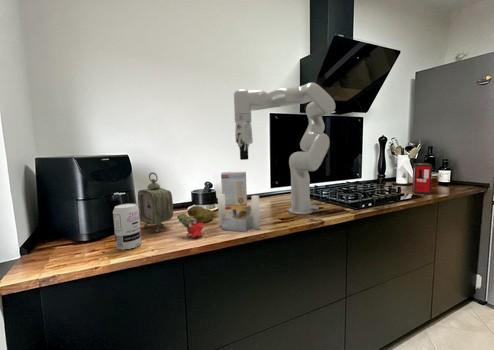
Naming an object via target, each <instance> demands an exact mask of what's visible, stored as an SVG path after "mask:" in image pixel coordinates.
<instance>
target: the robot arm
mask: <svg viewBox="0 0 494 350" xmlns="http://www.w3.org/2000/svg"><path fill="white" fill-rule="evenodd" d="M233 102H234V103H233V105H234V107H233V109H234V111H233V112H234V123H235V134H234V135H235V137H234V138H235V143H236V144H237V146H238V148H239V159H240V161H241V160H242V161H243V160H249V147H250V145H252V144H253V141H254V140H253V129H252V111H260V110H267V109H268V110H269V109H273V108H280V107H281V108H282V107H288V106H295V105H296V106H297V105H301V104H302V105H303V104H307V103H308V104H307V105H306V107H305V114H306V116H307V119H308V125H307V128H306V130H305V132H304V134H303V136H302V138H301V140H300V142H299V146H300V149H301V151H296V152H293V153H292V154H290V156H289V159H288V165H289V169H290V195H291V196H290V200H291V202H290V203H291V206H290V207H289V208H288V210H287V211H288V213H290V214H294V215H310V214H312V213H313V212H314V210H316V211H317V210H318V211H319V205H316V204H312V202H311V201H310V200H311V197H310V195H311V193H310V192H311V188H310V183H311V182H310V181H311V179H310V174H309V172H315V171H317V170H318V169H319V167H320V166H321V165H322V163H323V161H324V158H325V157H326V154H327V152H328V150H329V148H330V137H329V136H328V135H327V134H326V133H324V131H325V127H326V126H325V123H324V120H323V117H324V116H328V115H329V116H330V115H331V114H333V113H334V111H335V110H336V103H335V100H334V99H333V97H332V96H331V95H329V93H328V92H327V91H326V90H325V89H323V88H322V87H321V86H320V85H319V84H318V83H315V82H308V83H306V84H304V85H299V86H290V87H281V88H278V89H275V90H271V91H269V92H266V91H265V90H262V89H255V90H247V89H237V90H235V91H234V93H233Z"/></svg>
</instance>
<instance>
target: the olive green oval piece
mask: <svg viewBox="0 0 494 350" xmlns="http://www.w3.org/2000/svg"><path fill="white" fill-rule="evenodd" d="M187 214H188V215H187V216H189V215H190V216H194V218H195V219H197V222H198V223H199V222H200V223H201V222H202V221H203V223H207V222H209V221H211V220H213V218H214V216H215V215H214V211H212V210H210V209H207V208H203V207H202V206H200V205H199V206H197V205H194V206H191V207H190V208H188V210H187Z"/></svg>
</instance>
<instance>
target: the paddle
mask: <svg viewBox="0 0 494 350" xmlns="http://www.w3.org/2000/svg"><path fill="white" fill-rule="evenodd" d="M247 206H248V205H247ZM247 206H231V208H230V210H233V209H234V210H247ZM251 209H252V206H250V210H251Z"/></svg>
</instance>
